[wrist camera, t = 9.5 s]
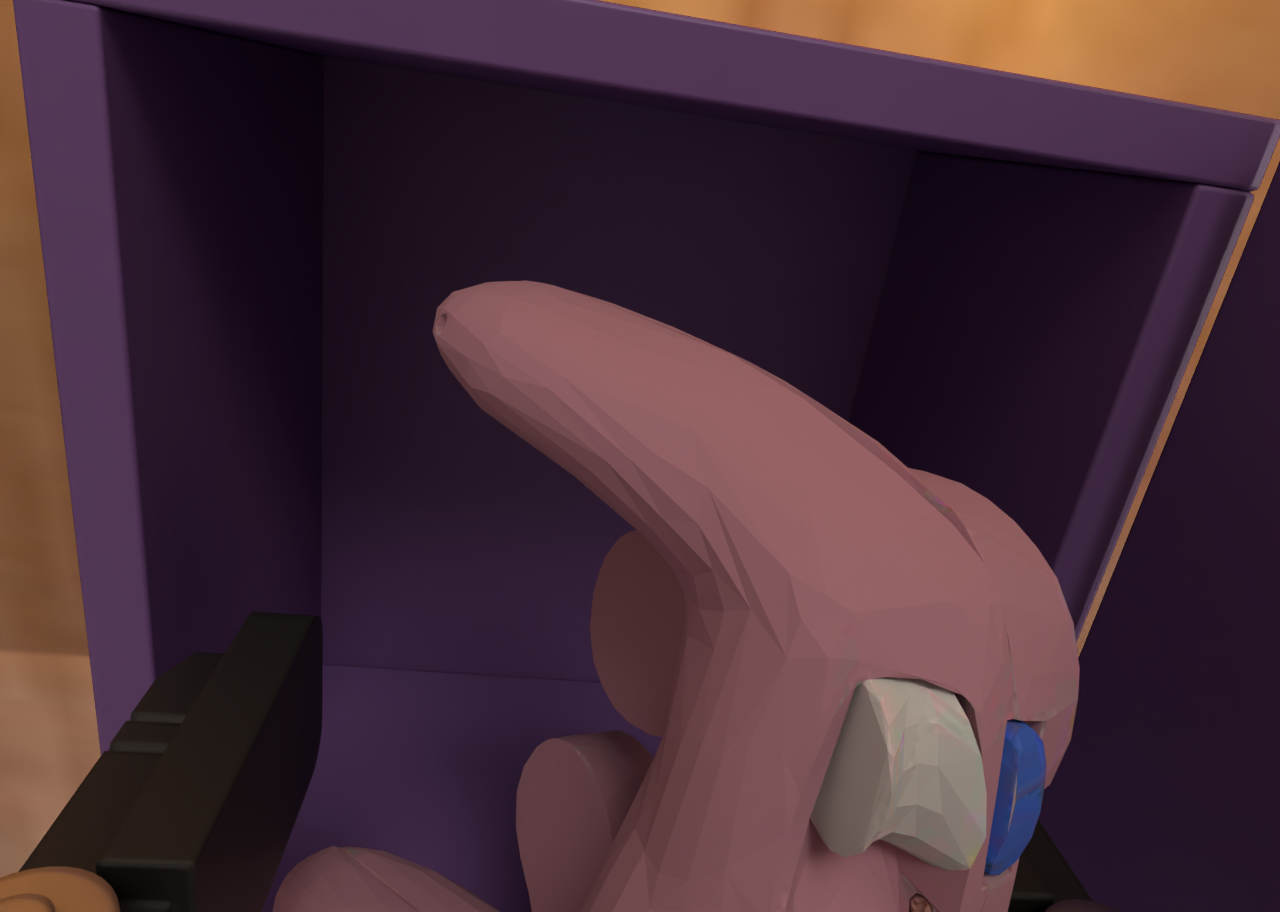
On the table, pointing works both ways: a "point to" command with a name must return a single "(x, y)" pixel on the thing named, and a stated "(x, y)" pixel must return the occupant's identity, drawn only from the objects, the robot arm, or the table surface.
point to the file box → (574, 260)
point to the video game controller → (755, 646)
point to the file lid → (1192, 644)
